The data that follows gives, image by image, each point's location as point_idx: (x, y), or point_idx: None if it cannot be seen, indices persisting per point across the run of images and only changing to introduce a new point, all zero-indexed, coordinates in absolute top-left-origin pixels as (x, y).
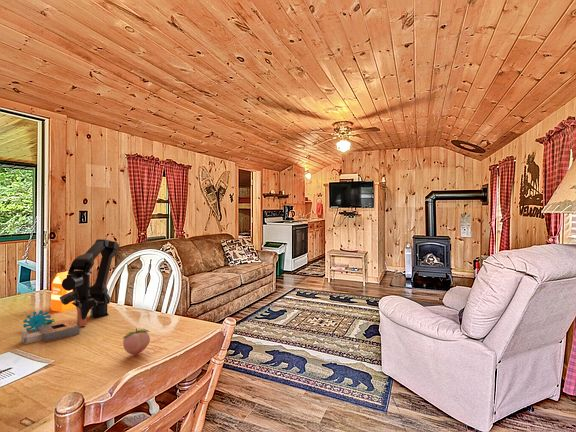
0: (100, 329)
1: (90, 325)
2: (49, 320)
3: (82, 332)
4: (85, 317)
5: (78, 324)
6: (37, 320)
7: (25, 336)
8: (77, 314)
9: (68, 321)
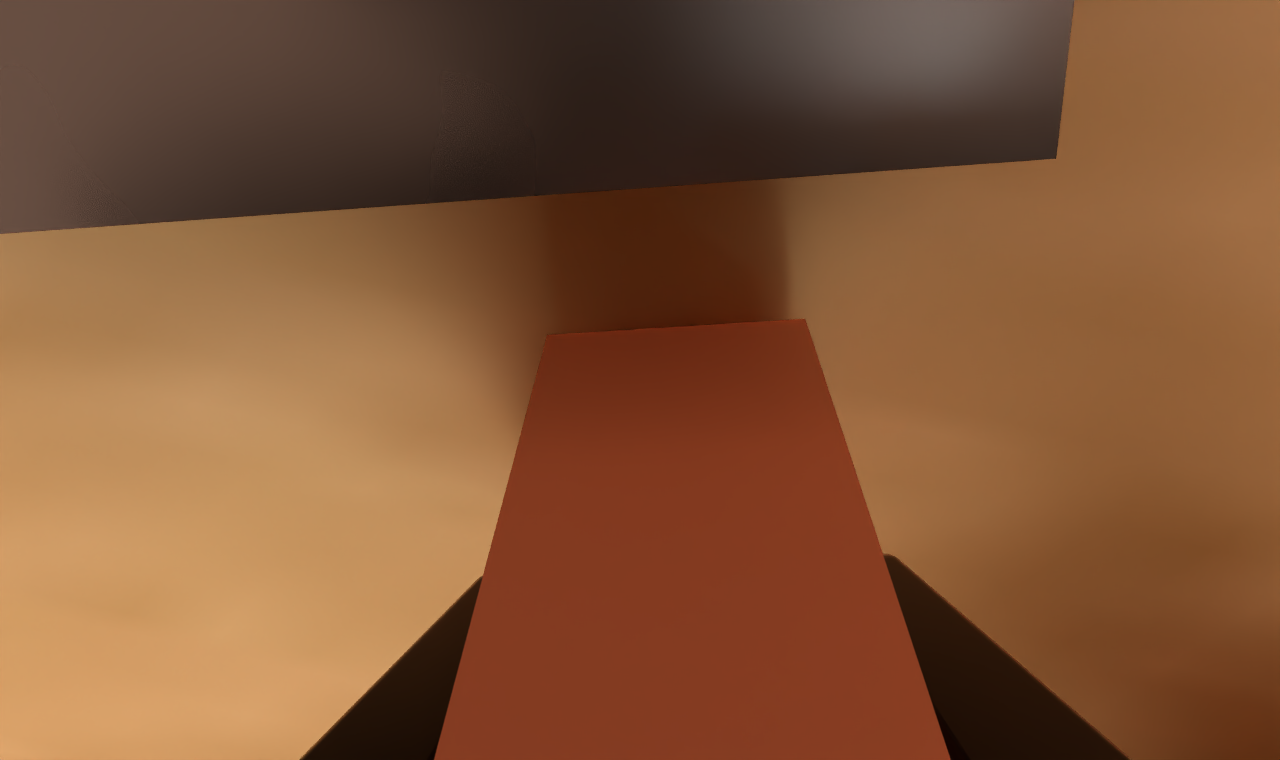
0: (37, 682)
1: None
2: None
3: (10, 275)
4: None
5: (666, 351)
6: None
7: None
8: (870, 604)
9: (733, 6)
